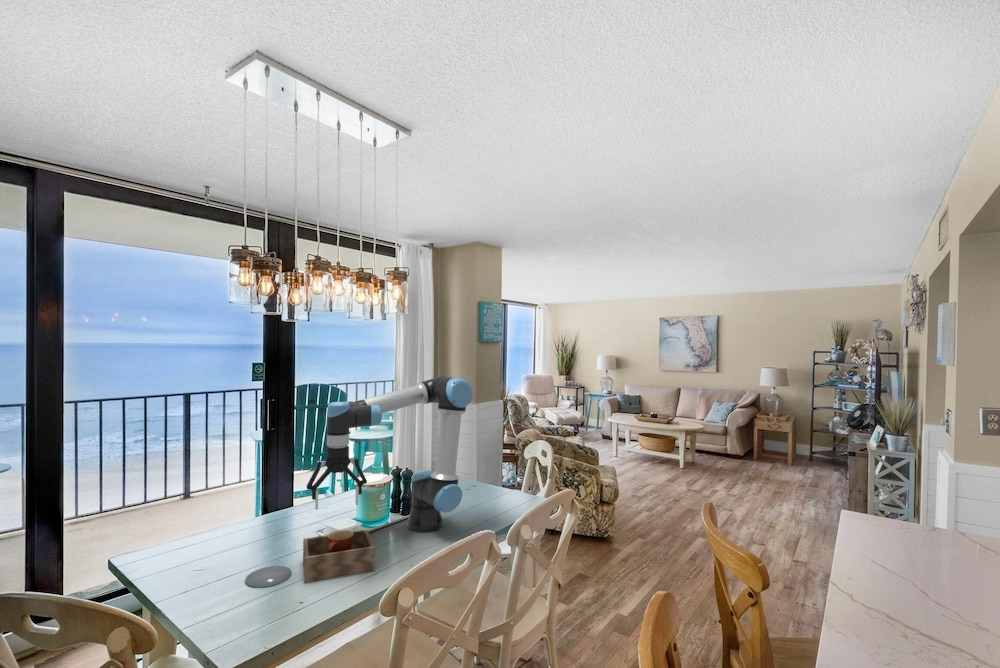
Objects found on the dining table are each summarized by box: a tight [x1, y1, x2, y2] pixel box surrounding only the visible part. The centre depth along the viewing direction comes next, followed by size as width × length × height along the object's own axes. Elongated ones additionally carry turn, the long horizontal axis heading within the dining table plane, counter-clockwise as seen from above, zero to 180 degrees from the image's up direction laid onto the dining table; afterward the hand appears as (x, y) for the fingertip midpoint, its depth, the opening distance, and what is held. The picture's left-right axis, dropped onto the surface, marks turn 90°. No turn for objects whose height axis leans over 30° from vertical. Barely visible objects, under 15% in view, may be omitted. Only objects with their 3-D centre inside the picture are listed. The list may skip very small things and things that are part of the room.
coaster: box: [244, 565, 293, 589], centre depth 161 cm, size 14×14×1 cm
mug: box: [327, 529, 354, 553], centre depth 170 cm, size 12×9×10 cm
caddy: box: [302, 529, 376, 584], centre depth 170 cm, size 22×17×8 cm
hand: (337, 506), depth 170 cm, fingers open, 13 cm apart
